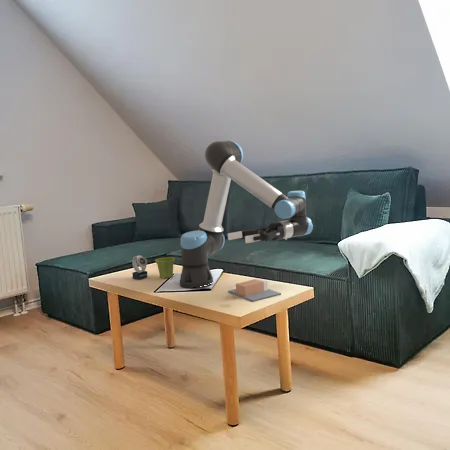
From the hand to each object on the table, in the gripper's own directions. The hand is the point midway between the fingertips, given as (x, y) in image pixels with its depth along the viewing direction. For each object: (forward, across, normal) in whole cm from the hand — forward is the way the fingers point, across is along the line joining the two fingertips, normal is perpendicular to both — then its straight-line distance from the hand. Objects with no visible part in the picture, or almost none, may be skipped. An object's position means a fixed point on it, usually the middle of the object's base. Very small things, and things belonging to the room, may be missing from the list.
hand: (236, 238), depth 201 cm
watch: (+22, +58, -22) cm, 66 cm away
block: (0, 0, -22) cm, 22 cm away
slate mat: (-6, +1, -24) cm, 25 cm away
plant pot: (+11, +52, -22) cm, 57 cm away
